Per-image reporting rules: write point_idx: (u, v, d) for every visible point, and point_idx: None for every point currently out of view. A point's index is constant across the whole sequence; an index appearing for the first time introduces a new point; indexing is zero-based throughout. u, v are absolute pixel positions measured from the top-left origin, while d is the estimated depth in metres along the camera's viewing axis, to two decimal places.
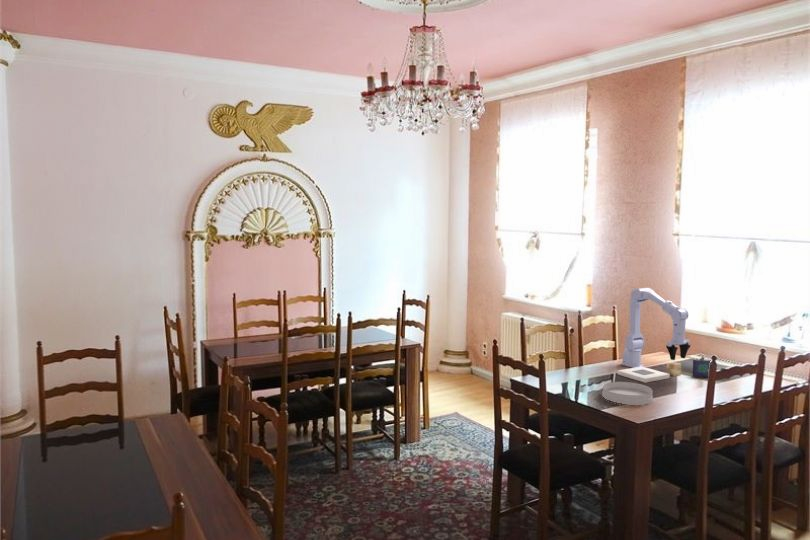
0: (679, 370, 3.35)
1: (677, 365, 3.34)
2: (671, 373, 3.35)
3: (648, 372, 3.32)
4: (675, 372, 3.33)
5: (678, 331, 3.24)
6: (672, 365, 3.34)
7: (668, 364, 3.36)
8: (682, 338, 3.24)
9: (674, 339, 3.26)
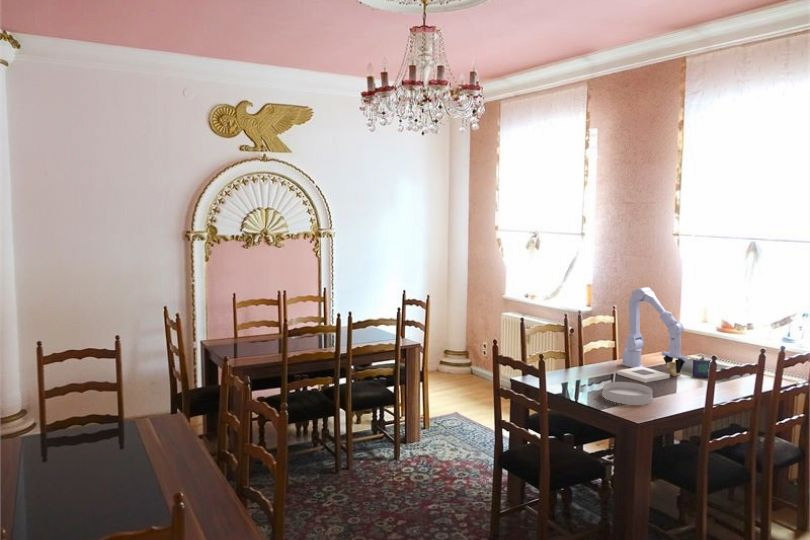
0: None
1: None
2: (671, 373, 3.35)
3: (648, 372, 3.32)
4: (675, 371, 3.33)
5: (675, 345, 3.32)
6: (672, 365, 3.34)
7: (668, 364, 3.36)
8: (670, 351, 3.35)
9: None
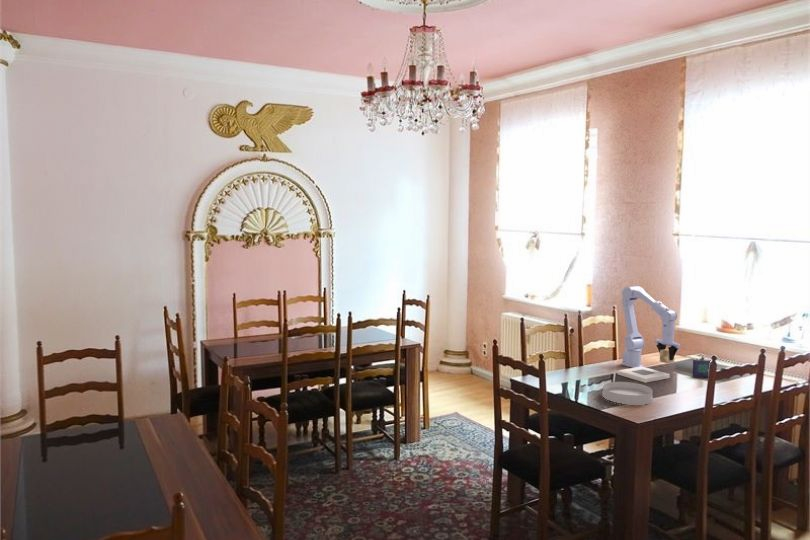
0: None
1: None
2: (664, 360, 3.33)
3: (648, 372, 3.32)
4: (668, 359, 3.32)
5: (667, 332, 3.31)
6: (665, 352, 3.33)
7: (661, 351, 3.35)
8: (663, 338, 3.33)
9: None
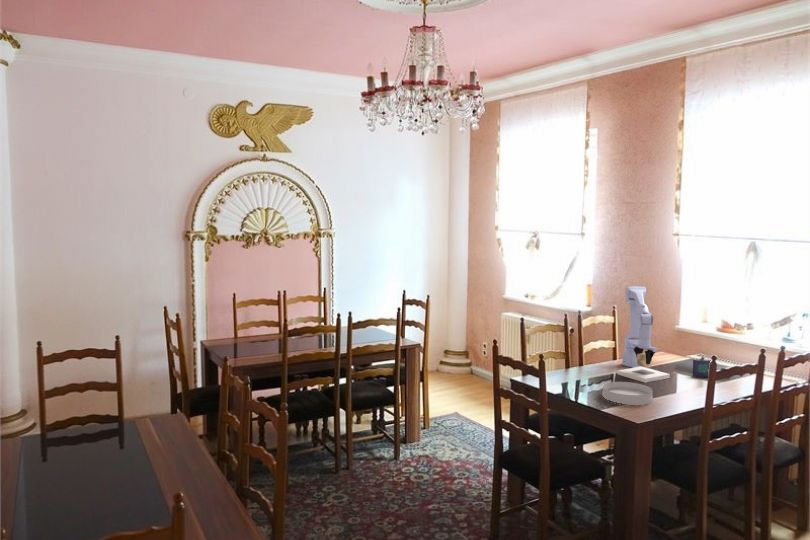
0: None
1: None
2: (641, 364, 3.31)
3: (648, 372, 3.32)
4: (645, 363, 3.29)
5: (640, 335, 3.30)
6: (642, 356, 3.30)
7: (638, 355, 3.32)
8: (639, 342, 3.30)
9: None
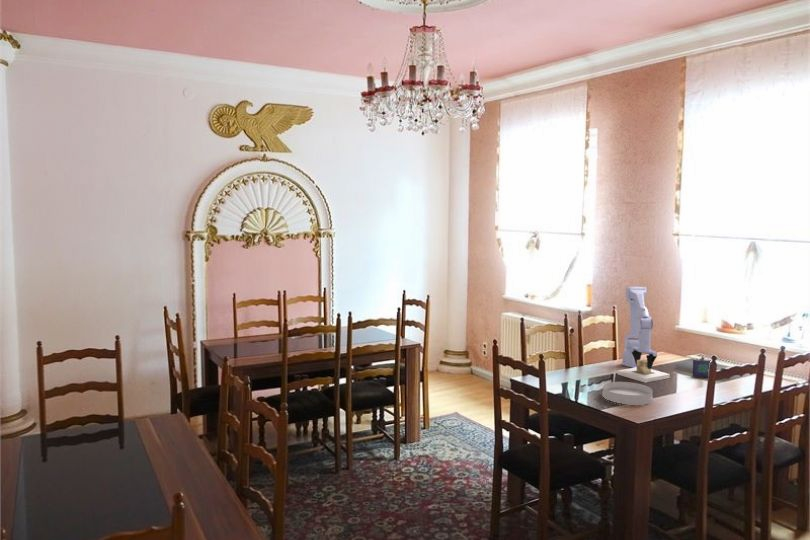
0: None
1: None
2: (641, 370, 3.31)
3: None
4: (645, 369, 3.30)
5: (640, 339, 3.30)
6: (642, 362, 3.30)
7: (638, 361, 3.33)
8: (639, 346, 3.31)
9: None
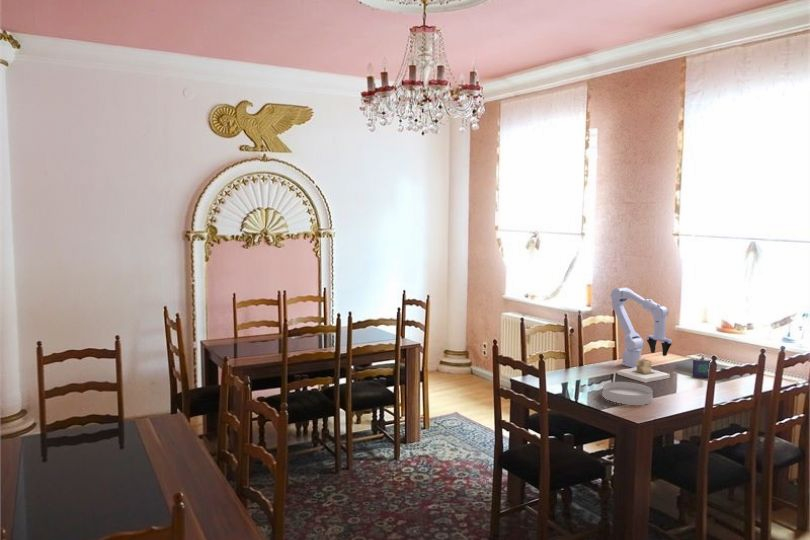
0: (649, 367, 3.31)
1: (647, 362, 3.30)
2: (641, 370, 3.31)
3: None
4: (645, 369, 3.30)
5: (660, 327, 3.37)
6: (642, 362, 3.30)
7: (638, 361, 3.33)
8: (655, 333, 3.39)
9: None
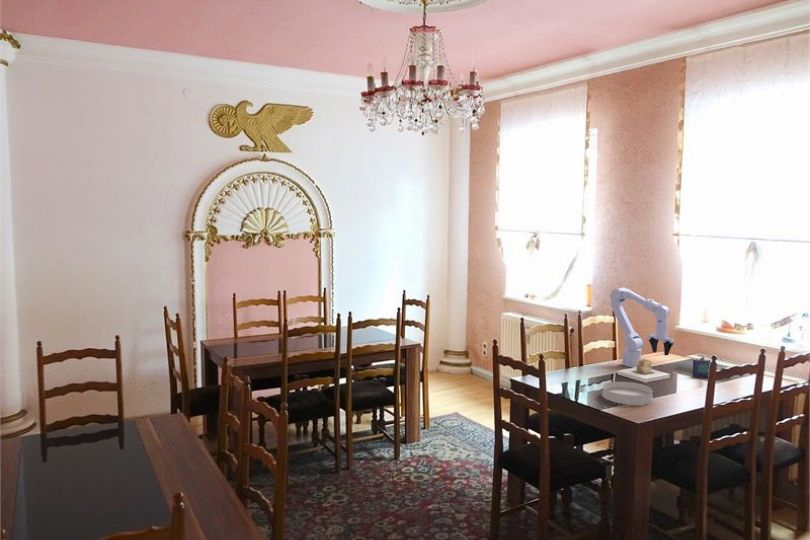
0: (649, 367, 3.31)
1: (647, 362, 3.30)
2: (641, 370, 3.31)
3: None
4: (645, 369, 3.30)
5: (662, 327, 3.38)
6: (642, 362, 3.30)
7: (638, 361, 3.33)
8: (656, 333, 3.40)
9: None
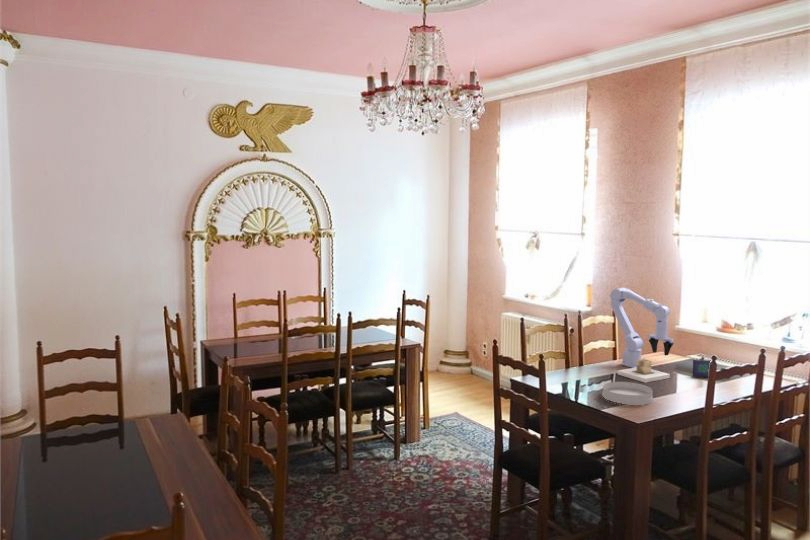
0: (649, 367, 3.31)
1: (647, 362, 3.30)
2: (641, 370, 3.31)
3: None
4: (645, 369, 3.30)
5: (662, 327, 3.38)
6: (642, 362, 3.30)
7: (638, 361, 3.33)
8: (656, 333, 3.40)
9: None
